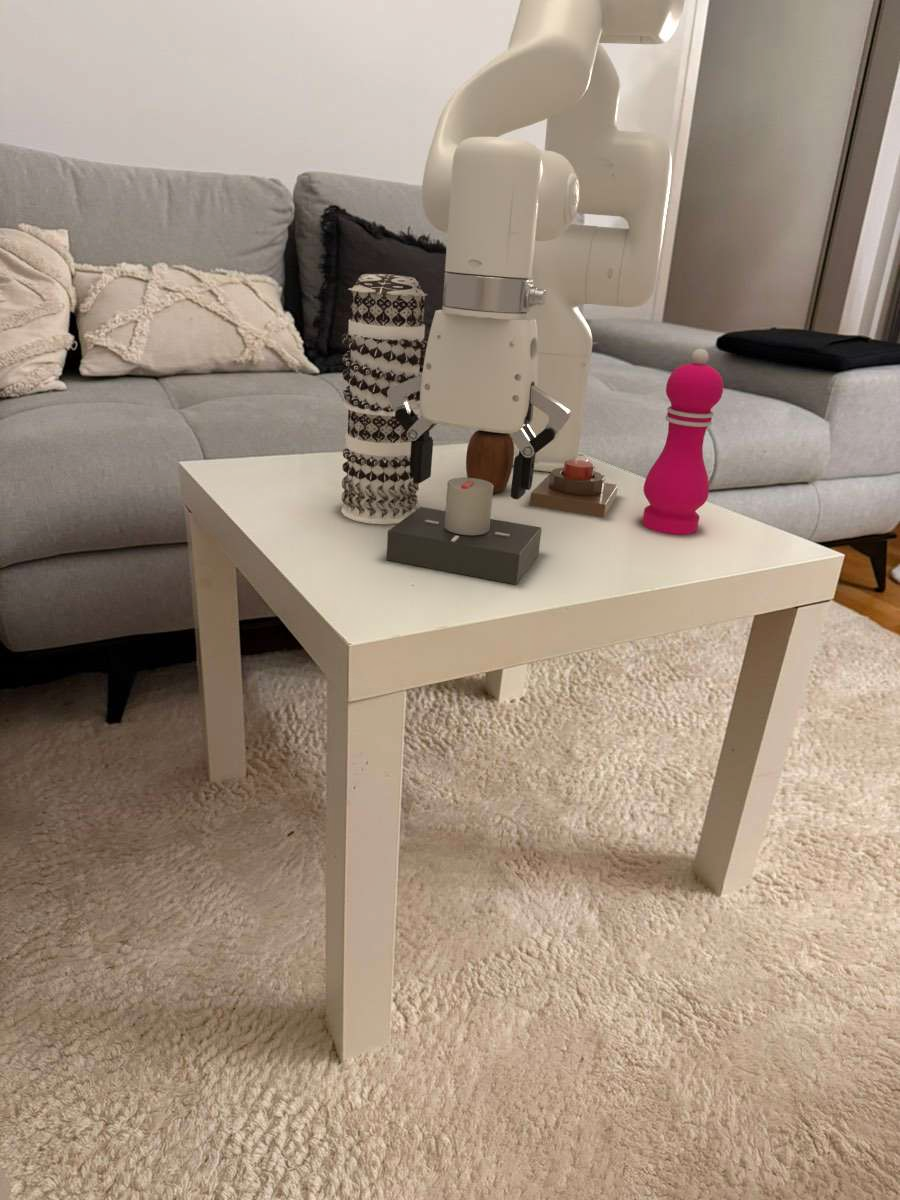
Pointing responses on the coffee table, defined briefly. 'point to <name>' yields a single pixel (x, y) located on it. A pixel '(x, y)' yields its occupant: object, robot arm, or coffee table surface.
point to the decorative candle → (380, 396)
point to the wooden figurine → (490, 458)
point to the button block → (574, 494)
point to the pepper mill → (683, 449)
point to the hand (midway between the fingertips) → (469, 488)
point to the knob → (468, 506)
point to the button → (578, 469)
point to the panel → (464, 547)
